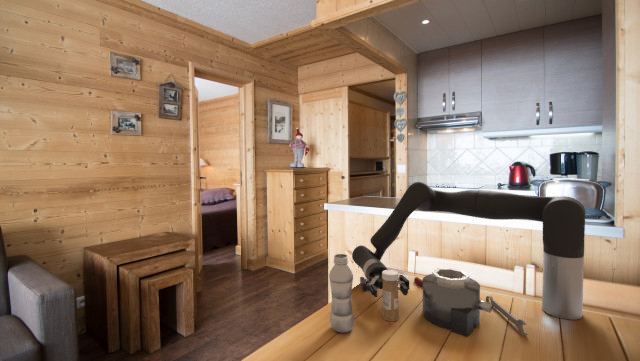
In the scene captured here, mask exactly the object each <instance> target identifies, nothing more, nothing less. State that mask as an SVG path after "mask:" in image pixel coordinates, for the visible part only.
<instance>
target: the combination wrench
mask: <svg viewBox="0 0 640 361" xmlns="http://www.w3.org/2000/svg"><path fill="white" fill-rule="evenodd" d="M485 302H489V303H491V304H492V307H494V308H495V309H496V310H497V311H498V312H499V313H500V314H502V315H503V316H504V317H506V318H507V319H508V320H509V321H510V322H511V323H512V324H514V325H515V327H516V328H517V331H518V332H519V333H520V335H522V336H526V337H527V336H528V332H526V331H525V330H524V326H527V323H526V322H525V320H524V319H520V318H519V319H517V318H515V317H514V316H513V315H511V313H509V312H508V311H507V309H505V308H504V307H503V306H501V305H500V304H499V303H498V302H496V300H494V298H493V296H491V295H487V296H486V297H485Z"/></svg>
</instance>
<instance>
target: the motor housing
mask: <svg viewBox="0 0 640 361" xmlns="http://www.w3.org/2000/svg"><path fill="white" fill-rule="evenodd" d="M422 280H423V287H422V317H423V319H425V320H426V321H427V322H428V323H430V324H431V325H434V326H435V327H438V328H440V329H444V330H449V331H450V332H451V333H455V334H457V335H459V336H462V337H465V338H468V337H469V336H470V335H471V334H473V332H474V329H477V328H478V327H479V326H480V323H481V322H480V321H481V317H480V316H481V315H480V312H481V311H483V312H486V313H492V309H493V306H492V304H491V302H490V301H489V302H490V303H489V302H486V300H481V284H480V283H479V282H478V281H476V280H475V279H473V278H470V275H469V274H467V273H466V272H465V271H464V270H461V269H456V268H446V267H444V268H437V269H435V270H432V273H430V274H426V275H425V276H424V277H423V278H422Z"/></svg>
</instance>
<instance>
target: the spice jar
mask: <svg viewBox="0 0 640 361" xmlns="http://www.w3.org/2000/svg"><path fill="white" fill-rule="evenodd" d="M399 275H400V274H399V271H397V270H395V269H388V270H384V271H383V272H382V280H383V289H382V313H383V314H382V318H383V319H384V320H386V321H388V322H396V321H398V320H399V318H400V316H399V290H398V286H399V283H398V279H399Z"/></svg>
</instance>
